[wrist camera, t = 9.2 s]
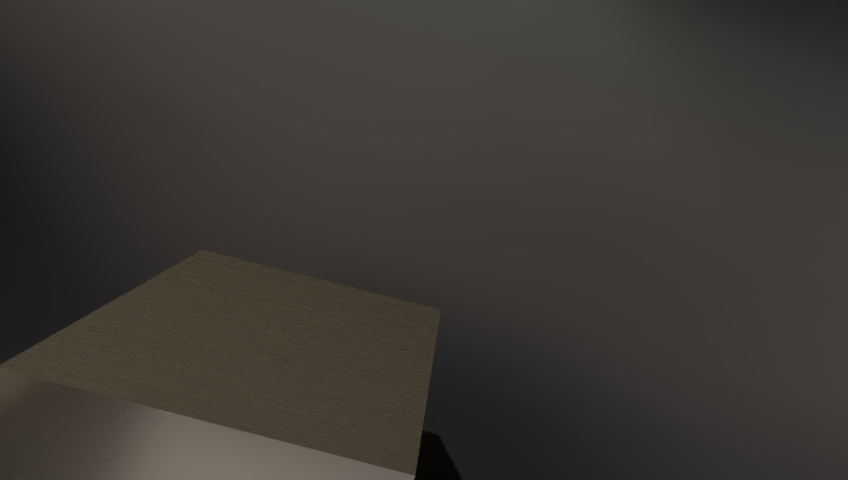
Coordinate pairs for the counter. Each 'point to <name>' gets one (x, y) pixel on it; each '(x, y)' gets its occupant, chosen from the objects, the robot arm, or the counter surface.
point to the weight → (224, 382)
